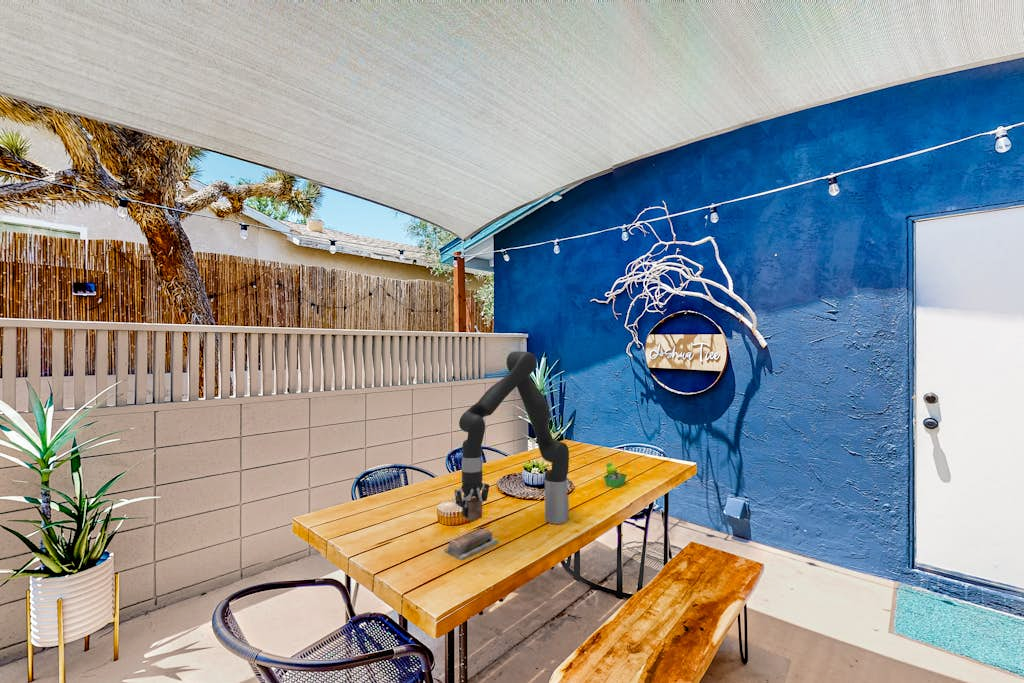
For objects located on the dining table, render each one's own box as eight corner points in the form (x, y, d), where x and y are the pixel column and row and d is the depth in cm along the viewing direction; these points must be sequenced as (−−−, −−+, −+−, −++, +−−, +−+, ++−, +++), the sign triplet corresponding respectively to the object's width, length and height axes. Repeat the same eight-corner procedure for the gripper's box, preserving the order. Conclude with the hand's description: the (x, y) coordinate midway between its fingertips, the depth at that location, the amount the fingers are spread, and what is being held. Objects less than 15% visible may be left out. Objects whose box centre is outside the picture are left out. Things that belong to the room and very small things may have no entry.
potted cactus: (615, 489, 219) (615, 467, 219) (600, 485, 225) (600, 463, 225) (627, 484, 226) (627, 463, 227) (613, 480, 233) (613, 459, 233)
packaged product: (461, 548, 148) (443, 539, 154) (462, 562, 148) (444, 552, 154) (498, 531, 161) (480, 523, 168) (498, 544, 161) (480, 536, 168)
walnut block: (474, 513, 160) (474, 497, 160) (481, 517, 156) (481, 500, 156) (463, 516, 157) (462, 499, 157) (470, 520, 153) (470, 503, 153)
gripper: (483, 463, 164) (483, 507, 164) (449, 469, 156) (449, 516, 156) (494, 467, 158) (494, 513, 158) (460, 474, 150) (460, 523, 150)
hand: (472, 515), depth 157 cm, fingers closed on walnut block, 5 cm apart
